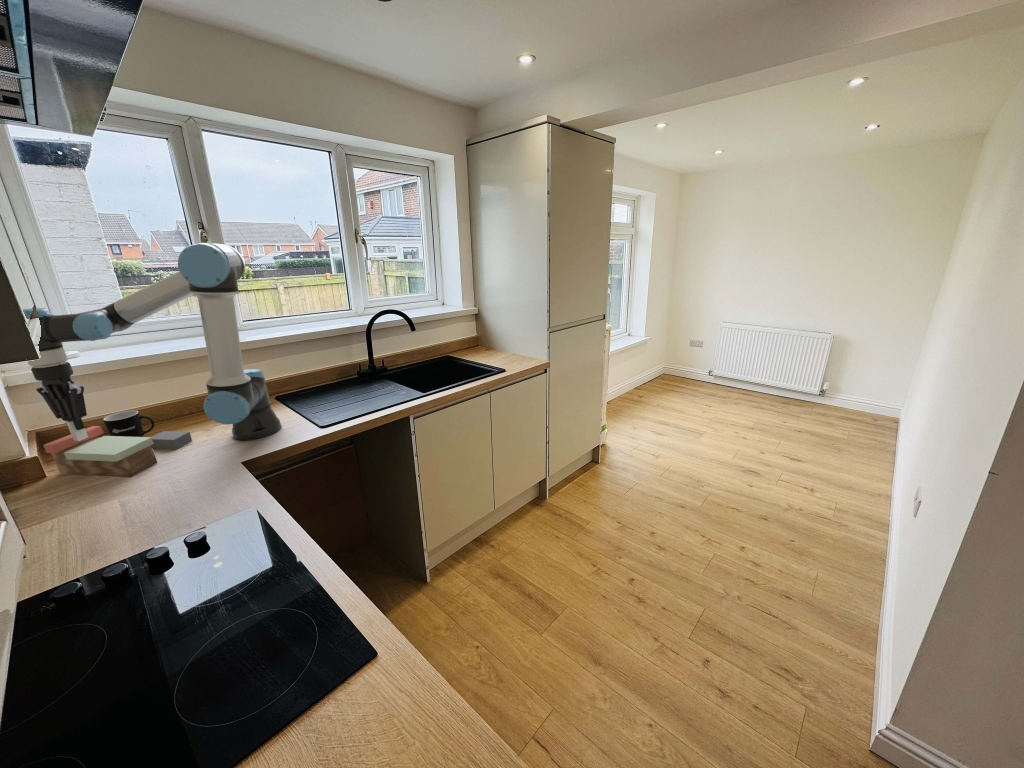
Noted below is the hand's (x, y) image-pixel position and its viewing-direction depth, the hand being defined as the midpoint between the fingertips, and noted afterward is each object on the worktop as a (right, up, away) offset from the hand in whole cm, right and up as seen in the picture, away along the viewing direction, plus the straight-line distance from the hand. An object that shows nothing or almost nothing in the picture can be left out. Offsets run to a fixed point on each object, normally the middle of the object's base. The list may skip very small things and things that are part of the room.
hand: (81, 439), depth 121 cm
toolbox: (+6, -9, +3) cm, 11 cm away
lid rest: (+13, -4, +17) cm, 22 cm away
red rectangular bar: (-2, -1, +1) cm, 3 cm away
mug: (-3, -4, +21) cm, 21 cm away
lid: (+9, -4, 0) cm, 10 cm away
